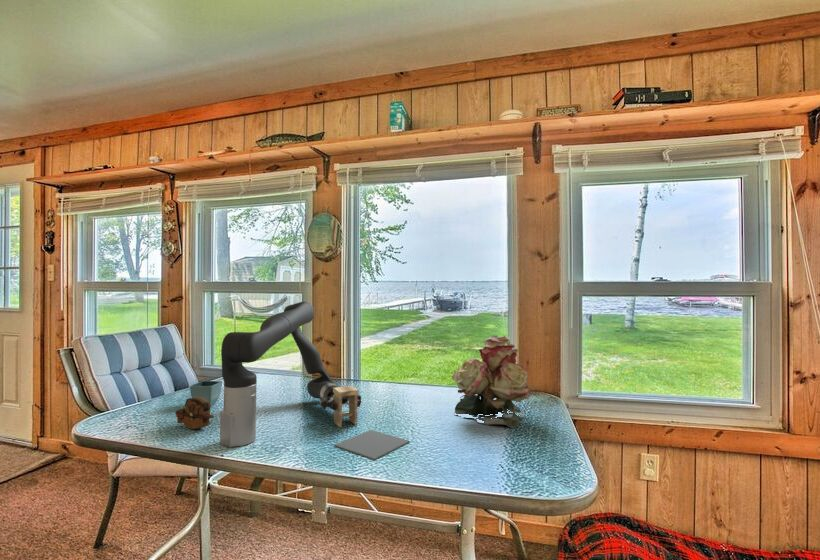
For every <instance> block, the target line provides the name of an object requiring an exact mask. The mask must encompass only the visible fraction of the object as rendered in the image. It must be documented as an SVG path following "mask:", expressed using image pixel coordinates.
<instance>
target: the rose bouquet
mask: <svg viewBox="0 0 820 560" xmlns="http://www.w3.org/2000/svg"><path fill="white" fill-rule="evenodd" d="M484 345H485V346H484V347H483V348H479V349H478V351H479V353H480V354H479V355H480V357H481V360H479V359H477V358H474V357H470V358H468V359H467V360H465V361H464V362H463V363H462V364H461V366H459V367H458V369H457V370H455V371H454V372H453V375H452V377H451V378H452V380H453V381H454V382H455V383H456V385H457V388H458V390H457V394H458V393H459V394H463V395H461V396H460V399H459V401H458V402H457V404H456V405H455V408H454V414H455V413H456V414H469V415H478V414H483V415H490V414H493V415H492V416H496V415H495V414H498V412H502V411H504V413H506V414H503V415H502V417H497V418H492V419H491V418H481V417H482V416H481V417H478V418H476V419H479V420H482V421H484V423H483V424H482V425H488V426H489V425H505V426H507V427H508V428H509V429H513V428H517V427H519V426H520V423H521V421H522V420H523V419H527V418H528V417H527V416H525V415H524V411H521V409H520V407H519V406H518V405H516V404H514V402H516V403H521V401H524V400H527V399H529V398H531V397H530V396H531V394H532V391H531V388H529V386H528V382H527V379H528V377H529V376H528V372H527V371H526V370H525V369H524V367H523V366H522V365H520V364H519V363H517V359H516V357H518V351H519V350H518V349H517V348H516V346H515V345H514V344H513V343H511V337H508V336H506V335H503V336H498V335H492V334H491V335H490V337H488V338H485V339H484ZM507 409H508V410H510V411H511V412H513V413H509V414H508V413H507V411H508V410H507ZM510 411H509V412H510ZM515 413H521V414H520V417H519V415H518V416H517V415H516V414H515ZM522 416H523V417H522Z"/></svg>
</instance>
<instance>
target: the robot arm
mask: <svg viewBox="0 0 820 560" xmlns="http://www.w3.org/2000/svg"><path fill="white" fill-rule="evenodd" d="M314 318H315V309H314V306H313V305H312V304H311V303H310V302H309V301H300V302H296V303H293V304H290V305H287V306H285V307H284V310H283V311H282V312H279V313H276V314H273V315H271V316H269V317H268V318H266V319H264V321H263V322H262V323H261V325H260V328H259V330H258V331H254V332H253V331H252V332H250V331H249V332H248V331H233V332H228V333H227V334H226V335H225V336H224V338H223V340H222V343H221V350H220V351H221V353H220V355H221V377H222V380H223V410H221V411H220V415H219V416H220V419H219V443H220V444H221V445H223V446H226V447H228V448H230V449H231V448H234V447H243V446H246V445H248V444H252V443H253V442H254V441H256V436H257V435H256V433H257V429H256V428H257V427H256V425H257V388H258V387H257V380H258V379H257V378H258V377H257V374H256V373H255V372H254V371H250V370H248V369H247V368H246V367H245V366H244V365H243V363H245V364H246V363H253V362H256V361H258V360H259V359H260V358H262V356H263V355H265V354H266V353H267V352H268V351H269V350H270V349H271V348H272V347H274V346H275V345H276V344H278V343H279V342H281V341H282V340H284V339H285V338H287V337H288V336H290V335H291V336H292V338H293V340H294V342H295V344H296V346H297V348H298V351H299V353H300V355H301V359H302V361H303V362H302V363H303V364H304V368H305V372H306V374H308V375H315V374H319V375H320V376H319V377H317V378H314V379H312V380H309V382H308V383H307V385H306V390H307V393H308V394H309V395H310V396H311V398H313V399H319V406H320V407H321V408H322V409H323V410H325V409H327V408H328V409H331V410H333V411H334V410H336V403H334V392H333V388H336V387H340V386H338V385H337V384H335V383H334V381H333V379H332V377H331V376H330V375H329V373H328V372H327V370H326V368H325V366H324V364H323V362H322V361H323V360H322V358H321V354H320V352H319V350H318V348H317V346H315V344H313V343H312V342H311V341H310V340H309V339H308V338H307V337H306V335H304V333H303V332H302V330H301V326H303V325H305V324H309V323H311V322H312V320H313V319H314ZM361 404H362V395H360V394H358V395H357V408H360V407H361ZM344 405H346V406H349V396H343V397H342V406H344Z"/></svg>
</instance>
